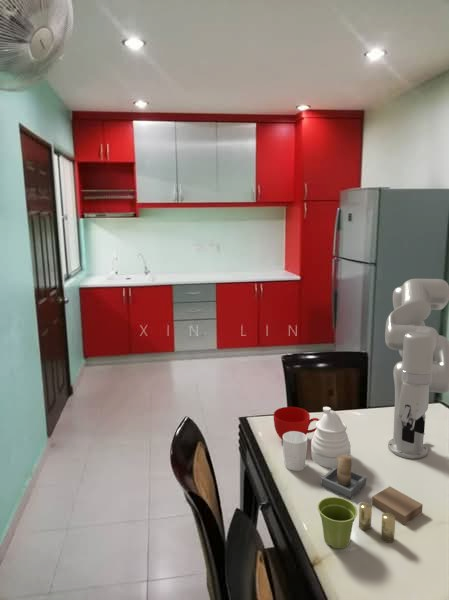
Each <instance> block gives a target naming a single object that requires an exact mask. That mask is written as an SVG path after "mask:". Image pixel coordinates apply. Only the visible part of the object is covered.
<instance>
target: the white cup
mask: <svg viewBox="0 0 449 600" xmlns="http://www.w3.org/2000/svg"><path fill="white" fill-rule="evenodd" d="M282 447H283V448H282V451H283V459H284V466H285V468H286V469H287V470H290V471H293V472H295V471H296V472H300V471H302V470H304V469H305V468H306V462H307V460H306V459H307V451H308V450H307V449H308V436H307V434H306V435H305V434H304V433H301V432H297V431H290V432H286V433H285V434H284V435H283V440H282Z"/></svg>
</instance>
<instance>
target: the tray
mask: <svg viewBox="0 0 449 600" xmlns="http://www.w3.org/2000/svg"><path fill="white" fill-rule="evenodd" d="M320 478H321V479H320V486H321V487H322V488H325V489H327V490H329V491H332V492H334V493H336V494H338V495H339V496H342V497H343V498H347V500H348V499H349V500H352V498H354V497H355V496H356V495H357V494H359V492H360V491H361V490H362V489H363V488H364V487H365V486H366V485H367V476H365V475H362V474H360V473H358V472H356V471H353V470H351V485H350V486H349V487H344V486H342V485H339V484H337V466H336V467H334V468H331V470H330V471H328V472H327V473H325V475H323V476H322V477H320Z"/></svg>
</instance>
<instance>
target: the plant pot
mask: <svg viewBox="0 0 449 600" xmlns="http://www.w3.org/2000/svg"><path fill="white" fill-rule="evenodd" d="M317 511H318V514H319V515H320V518H321V525H322V530H323V531H322V532H323V533H322V534H323V540H324V542H325V543H326V544H327V545H329V546H331V547H332V548H334V549H343V548H344V549H345V548H346V547H347V546H348V545H349V544H350V541H351V535H352V530H353V525H354V524H353V523H354V521H355V519H356V518H357V516H358V509H357V507H356V506H355V504H354V503H352V502H351V501H350V500H348V499H345V498H344V497H339V496H329V497H325V498H322V499H321V500H320V501H319V502H318V504H317Z"/></svg>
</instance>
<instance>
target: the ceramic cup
mask: <svg viewBox="0 0 449 600" xmlns="http://www.w3.org/2000/svg"><path fill="white" fill-rule="evenodd" d="M319 420H320V419H319V418H317V417H313V418H311V416H310V413H309V412H308V411H307V410H306V409H304V408H300V407H296V406H285V407H280V408H277V409H276V410H275V411H274V412H273V424H274V429H275V432H276V435H277V437H279V438H280V440H281V441H283V435H284V434H285V433H286V432H290V431H297V432H301V433H304V434H305V435H306V436H307V434H311V433H314V432H315V430H316V429H317V428H316V427H315V428H312V429H309V427H310V425H311V423H312V422H315V421H316V422H317V421H319Z"/></svg>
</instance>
